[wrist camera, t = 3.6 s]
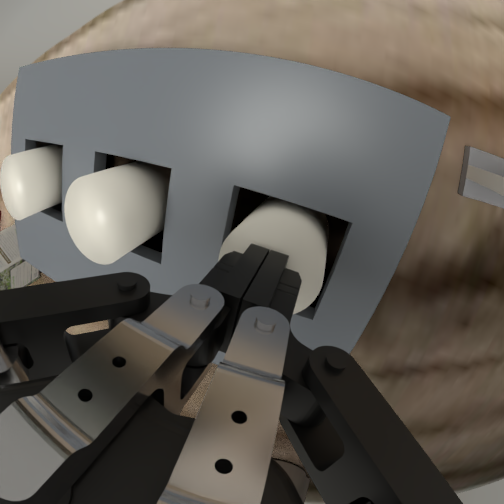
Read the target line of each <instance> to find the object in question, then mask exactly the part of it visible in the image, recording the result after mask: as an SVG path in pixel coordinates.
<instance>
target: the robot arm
mask: <svg viewBox="0 0 504 504" xmlns="http://www.w3.org/2000/svg"><path fill="white" fill-rule="evenodd" d="M269 251H270V252H269ZM288 259H289V255H286V254H283V253H280V252H277V251H274V250H270V249H267V248H264V247H261V246H258V245H255V244H252V243H251V244H250V245H249V247H248V248H247V249H246V251H245V252H244V253H243V254H242V253H239V252H236V251H233V252H230V253H227V254H225V255H224V256H223V257H222V258H221V259H220V260H219V262H217V264H216V265H215V266H214V268H212V269H211V270H210V271H209V273H208V274H207V275H206V276H205V277H204V278H203V279H202V281H201V282H200V283H199V284H190V285H186V286H184V287H182V288H180V289H179V290H178V291H177V292H176V293H175V294H173V295H167V294H161V293H155V292H150V283H149V281H148V280H147V279H146V278H145V277H144V276H142V275H140V274H137V273H133V272H120V273H113V274H107V275H100V276H93V277H87V278H80V279H73V280H67V281H60V282H53V283H47V284H40V285H33V286H27V287H20V288H13V289H7V290H0V504H304V502H305V498H306V494H307V490H308V486H309V481H310V479H309V478H307V477H306V473H305V472H304V471H303V470H302V469H301V468H299V467H297V466H295V465H293V464H290V463H287V462H283V461H279V460H274V459H273V458H272V457H271V455H272V451H273V446H274V441H275V436H276V431H277V426H278V421H279V420H280V423H281V425H282V427H283V429H284V430H285V432H286V434H287V436H288V438H289V440H290V442H291V443H292V445H293V447H294V449H295V451H296V453H297V454H298V456H299V458H300V460H301V462H302V463H303V465H304V467H305V469H306V471H307V472H308V474H309V476H310V478H311V479H312V481H313V483H314V484H315V486H316V488H317V490H318V491H319V493H320V495H321V496H322V498H323V500H324V502H325V503H326V504H463V503H462V502H461V500H460V499H459V498H458V496H457V495H456V493H455V492H454V491H453V489H452V488H451V487H450V485H449V484H448V482H447V481H446V480H445V478H444V477H443V476H442V474H441V473H440V472H439V470H438V469H437V468H436V466H435V465H434V464H433V462H432V461H431V459H430V458H429V457H428V455H427V454H426V453H425V451H424V450H423V449H422V447H421V446H420V445H419V443H418V442H417V441H416V439H415V438H414V437H413V435H412V434H411V433H410V431H409V430H408V429H407V427H406V426H405V425H404V424H403V422H402V421H401V420H400V418H399V417H398V416H397V414H396V413H395V412H394V410H393V409H392V408H391V406H390V405H389V404H388V402H387V401H386V400H385V399H384V397H383V396H382V395H381V393H380V392H379V391H378V389H377V388H376V387H375V386H374V384H373V383H372V382H371V380H370V379H369V378H368V376H367V375H366V374H365V373H364V371H363V370H362V369H361V367H360V366H359V365H358V364H357V362H356V361H355V360H354V358H353V357H352V356H351V355H350V354H348V353H347V352H346V351H344V350H342V349H340V348H338V347H334V346H320V347H317V348H316V349H314V350H311V349H310V348H308V347H306V346H305V345H303V344H302V343H301V342H299V341H298V340H297V339H296V338H295V336H294V335H293V333H292V331H291V328H290V322H291V318H292V315H293V311H294V308H295V304H296V301H297V297H298V293H299V290H300V286H301V282H302V280H301V277H300V275H299V273H298V272H296V271H293V270H290V269H287V268H286V265H287V262H288ZM103 320H108V324H109V329H104V330H99V331H94V332H88V333H83V334H78V335H71V334H69V333H67V332H66V331H65V330H66V329H67V328H69V327H71V326H75V325H81V324H87V323H92V322H98V321H103ZM218 351H221V352H224V353H226V354H225V357H224V359H223V362H220V363H219V365H218V367H217V369H216V371H215V374H214V376H213V379H212V381H211V383H210V386H209V388H208V390H207V393H206V395H205V398H204V400H203V402H202V405H201V407H200V409H199V412H198V414H197V417H196V419H195V418H190V417H185V416H180V413H181V411H182V409H183V407H184V405H185V404H186V402H187V401H188V400H189V398H190V397H191V395H192V394H193V393H194V391H195V390H196V388H197V387H198V385H199V384H200V383H201V381H202V380H203V378H204V377H205V375H206V374H207V373H208V371H209V370H210V368H211V366H212V361H213V360H214V358H215V357H216V355H217V353H218Z"/></svg>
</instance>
